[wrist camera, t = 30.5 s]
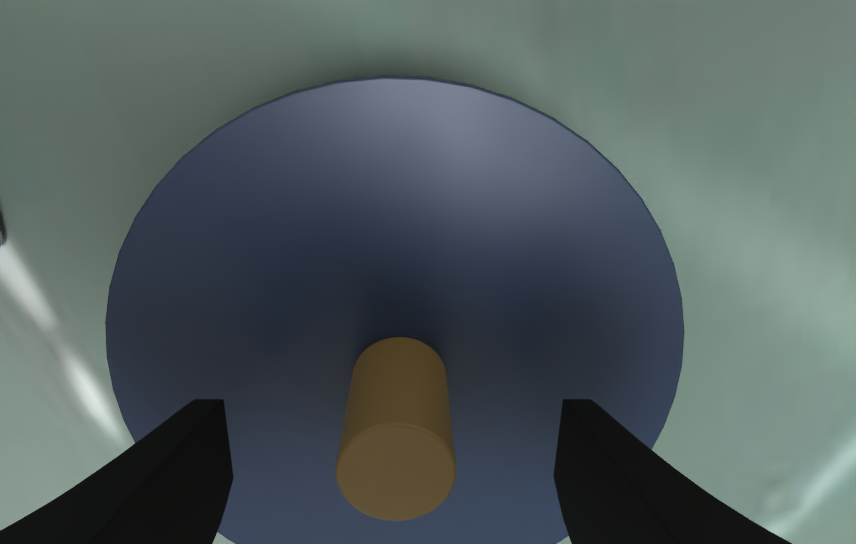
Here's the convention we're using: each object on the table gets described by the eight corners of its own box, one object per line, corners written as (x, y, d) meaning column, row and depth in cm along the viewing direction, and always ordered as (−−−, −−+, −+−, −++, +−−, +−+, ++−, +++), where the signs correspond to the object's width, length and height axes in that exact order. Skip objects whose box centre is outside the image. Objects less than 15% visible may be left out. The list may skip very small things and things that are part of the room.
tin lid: (182, 567, 18) (108, 732, 14) (61, 85, 13) (-122, 101, 8) (638, 546, 18) (709, 701, 14) (702, 63, 13) (850, 68, 9)
